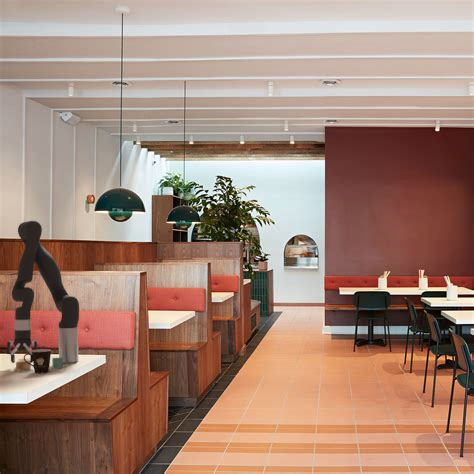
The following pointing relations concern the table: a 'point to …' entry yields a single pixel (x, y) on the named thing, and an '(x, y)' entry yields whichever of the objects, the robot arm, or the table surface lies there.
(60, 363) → the green cube
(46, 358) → the coffee mug
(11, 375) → the table surface
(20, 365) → the oak block
